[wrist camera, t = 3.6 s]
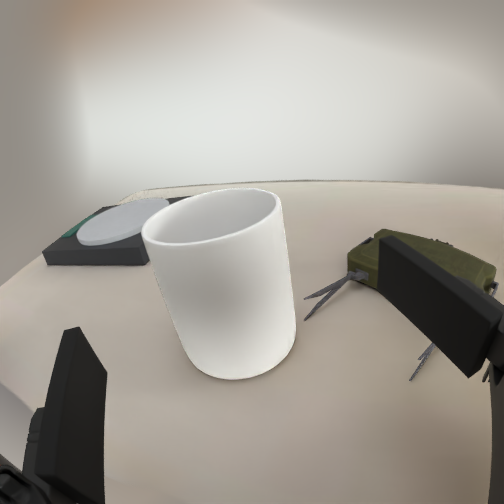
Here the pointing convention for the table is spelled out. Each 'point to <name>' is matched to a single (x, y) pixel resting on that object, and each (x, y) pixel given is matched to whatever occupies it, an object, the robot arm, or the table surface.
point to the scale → (108, 236)
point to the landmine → (441, 253)
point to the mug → (225, 279)
